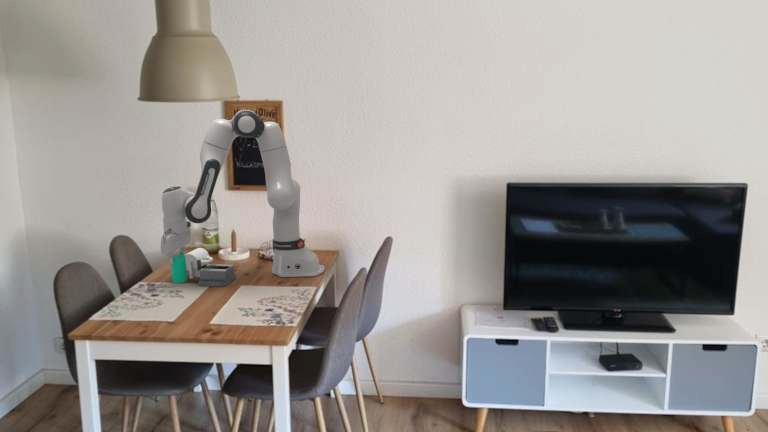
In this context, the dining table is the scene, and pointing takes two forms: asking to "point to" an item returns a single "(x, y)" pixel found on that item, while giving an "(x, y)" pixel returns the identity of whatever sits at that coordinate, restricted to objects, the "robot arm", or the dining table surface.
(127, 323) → the dining table surface
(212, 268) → the grey box
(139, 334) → the dining table surface
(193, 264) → the light grey block
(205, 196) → the robot arm
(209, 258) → the mug
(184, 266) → the candle
